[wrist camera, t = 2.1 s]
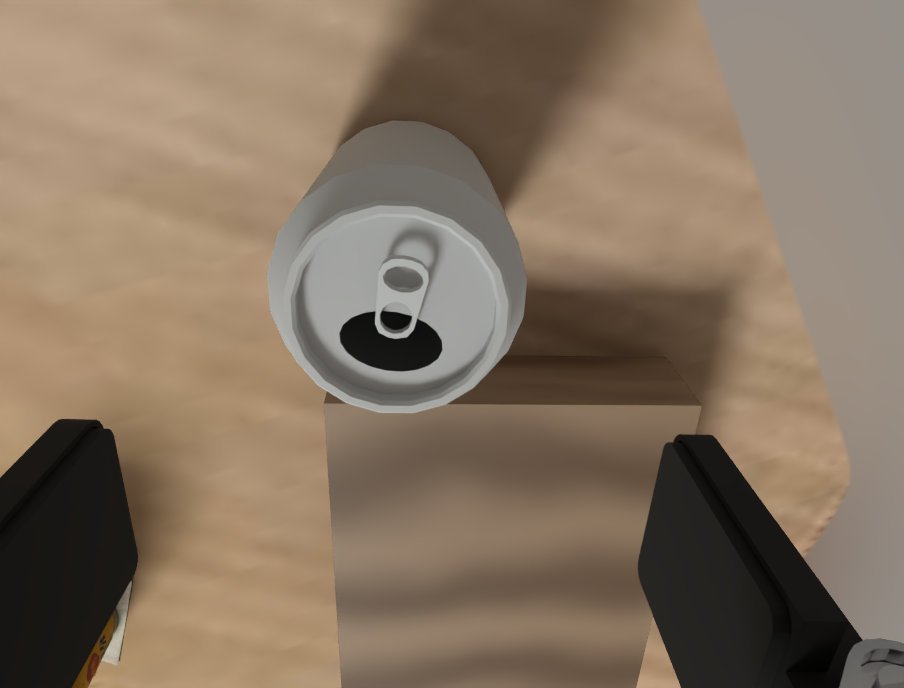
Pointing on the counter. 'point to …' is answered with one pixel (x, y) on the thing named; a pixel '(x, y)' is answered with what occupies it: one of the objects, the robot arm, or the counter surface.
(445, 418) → the chopping block
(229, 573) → the counter surface
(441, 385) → the can
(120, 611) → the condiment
